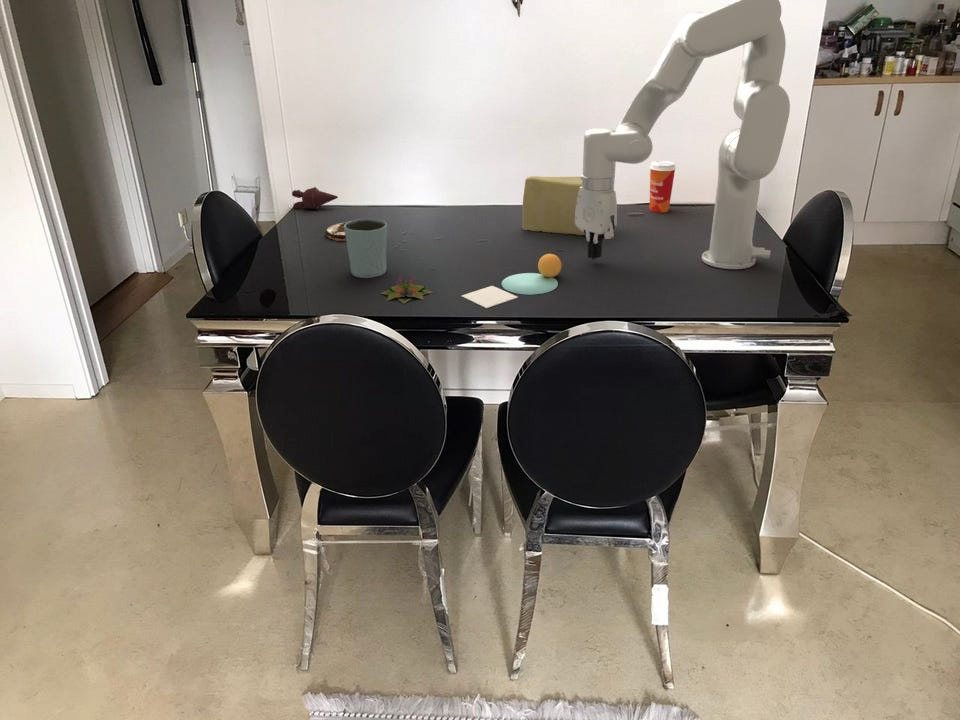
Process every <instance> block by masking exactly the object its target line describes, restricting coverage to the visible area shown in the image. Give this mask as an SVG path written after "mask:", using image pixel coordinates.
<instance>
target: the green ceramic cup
mask: <svg viewBox="0 0 960 720" xmlns="http://www.w3.org/2000/svg"><path fill="white" fill-rule="evenodd" d="M348 221H349V222H347V221H346V222H347V223H346V224H345V225H344V230H345V235H346V241H345V242H346V248H347V254H348V259H349V262H350V266H349V267H350V273H351V275H352V276H353V277H356V278H361V279H362V278H363V279H369V278H378V277H380V276H383V275H384V274H386V272H387V254H388V253H387V248H388V247H387V236H388V224H387V222H386V221H385V220H382V219H378V218H359V219H354V220H348Z"/></svg>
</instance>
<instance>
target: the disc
mask: <svg viewBox="0 0 960 720" xmlns="http://www.w3.org/2000/svg"><path fill="white" fill-rule="evenodd" d="M558 284H559V283H558V280H557V279H556V278H554V277H545V276H543V275H542V274H541V273H538V272H537V273H536V272H525V273H523V272H522V273H517V274H512V275H508V276H507V277H505V278H504V279H503V280H502V281H501V286H502V288H503V289H504V290H506V292H509V293H513V294H517V295H527V296H528V295H529V296H530V295H532V296H533V295H541V294H546V293H549V292H552V291H554V290H555V289H556V288H557V287H558Z"/></svg>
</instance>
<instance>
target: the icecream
mask: <svg viewBox="0 0 960 720" xmlns="http://www.w3.org/2000/svg"><path fill="white" fill-rule="evenodd" d="M291 195H292V197H294V198H298V199H300V198H301V201H296V202H294V203H293V206H292V207H293V208H294V209H298V210H300V209H303V208H305V207H306V208H308V209H309V210H311V209H312V210H319V209H320V208H321V207H322V206H323V205H325V204H327V203H329V202H332V201H334V200H336V199H338V195H335V194H331V193H327V192H324V191H321V190H319V188H317V187H316V186H314V187H311V188H307V189H306V190H304V191H301V190H300V189H297V190H296V189H295V190H292V192H291Z"/></svg>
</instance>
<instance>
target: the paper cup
mask: <svg viewBox="0 0 960 720" xmlns="http://www.w3.org/2000/svg"><path fill="white" fill-rule="evenodd" d="M676 169H677V167H676V163H675V162H674V161H668V160H656V161H655V160H654V161H652V162H651V164H650V166H649V170H650V171H649V173H650V174H649V175H650V176H649V178H650V179H649V211H650V212H651V213H655V214H656V213H657V214H663V213H667V212H669V210H670V204H671V198H672V192H673V186H674V178H675V171H676Z"/></svg>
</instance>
